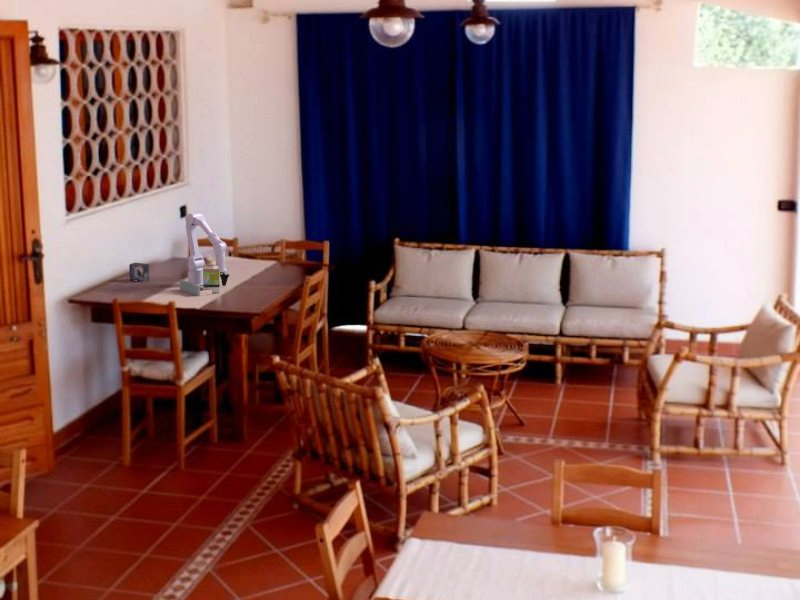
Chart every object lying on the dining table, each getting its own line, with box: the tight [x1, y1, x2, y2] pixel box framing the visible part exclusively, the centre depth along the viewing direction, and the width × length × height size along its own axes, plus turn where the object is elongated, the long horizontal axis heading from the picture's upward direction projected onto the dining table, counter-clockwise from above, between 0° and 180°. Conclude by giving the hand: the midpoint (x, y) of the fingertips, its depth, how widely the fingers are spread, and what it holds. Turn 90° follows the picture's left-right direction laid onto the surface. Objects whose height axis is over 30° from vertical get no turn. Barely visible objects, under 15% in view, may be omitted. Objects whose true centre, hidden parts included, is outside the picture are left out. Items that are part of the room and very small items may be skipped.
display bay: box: [179, 278, 213, 297], centre depth 691 cm, size 22×9×6 cm, turn 38°
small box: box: [128, 262, 150, 282], centre depth 720 cm, size 11×6×10 cm, turn 68°
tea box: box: [202, 264, 221, 294], centre depth 694 cm, size 15×10×15 cm, turn 8°
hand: (220, 284), depth 701 cm, fingers open, 7 cm apart
